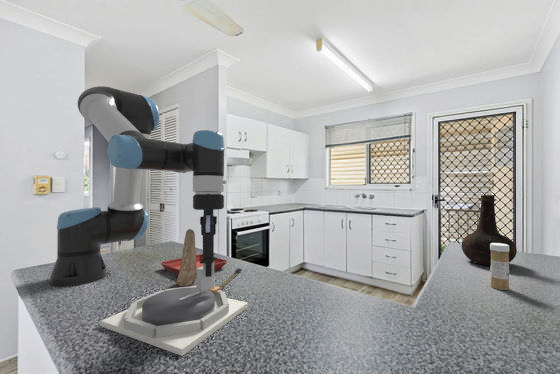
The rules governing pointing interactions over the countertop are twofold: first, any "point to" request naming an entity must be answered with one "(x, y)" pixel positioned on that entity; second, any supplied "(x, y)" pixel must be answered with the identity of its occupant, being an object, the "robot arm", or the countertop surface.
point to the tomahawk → (230, 278)
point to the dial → (179, 304)
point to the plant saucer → (175, 264)
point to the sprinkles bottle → (499, 266)
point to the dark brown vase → (486, 235)
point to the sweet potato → (188, 261)
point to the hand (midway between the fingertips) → (208, 288)
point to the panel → (180, 339)
